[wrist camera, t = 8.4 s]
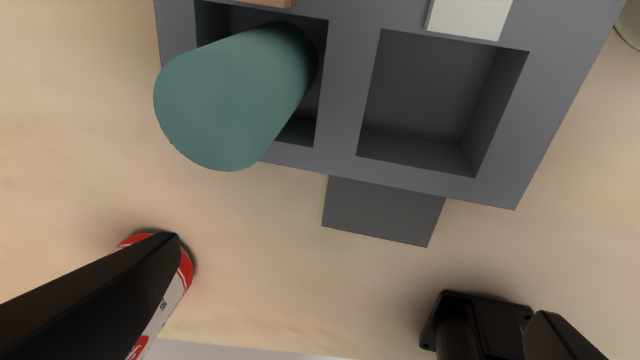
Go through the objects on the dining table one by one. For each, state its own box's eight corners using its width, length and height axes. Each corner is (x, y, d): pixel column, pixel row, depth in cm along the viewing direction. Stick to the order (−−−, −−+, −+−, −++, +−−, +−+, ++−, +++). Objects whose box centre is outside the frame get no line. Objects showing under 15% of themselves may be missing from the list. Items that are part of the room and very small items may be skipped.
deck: (425, 241, 22) (426, 247, 22) (322, 220, 23) (321, 226, 22) (452, 170, 19) (454, 175, 19) (334, 148, 20) (333, 153, 19)
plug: (313, 106, 18) (269, 181, 12) (243, 93, 19) (161, 159, 12) (323, 28, 16) (276, 63, 9) (244, 15, 17) (144, 40, 10)
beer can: (173, 293, 30) (-6, 555, 16) (114, 249, 28) (-143, 499, 14) (213, 264, 27) (38, 551, 13) (150, 212, 25) (-125, 481, 12)
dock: (491, 169, 19) (522, 223, 15) (206, 117, 20) (159, 152, 16) (573, -12, 14) (652, -10, 10) (196, -65, 16) (125, -83, 11)
